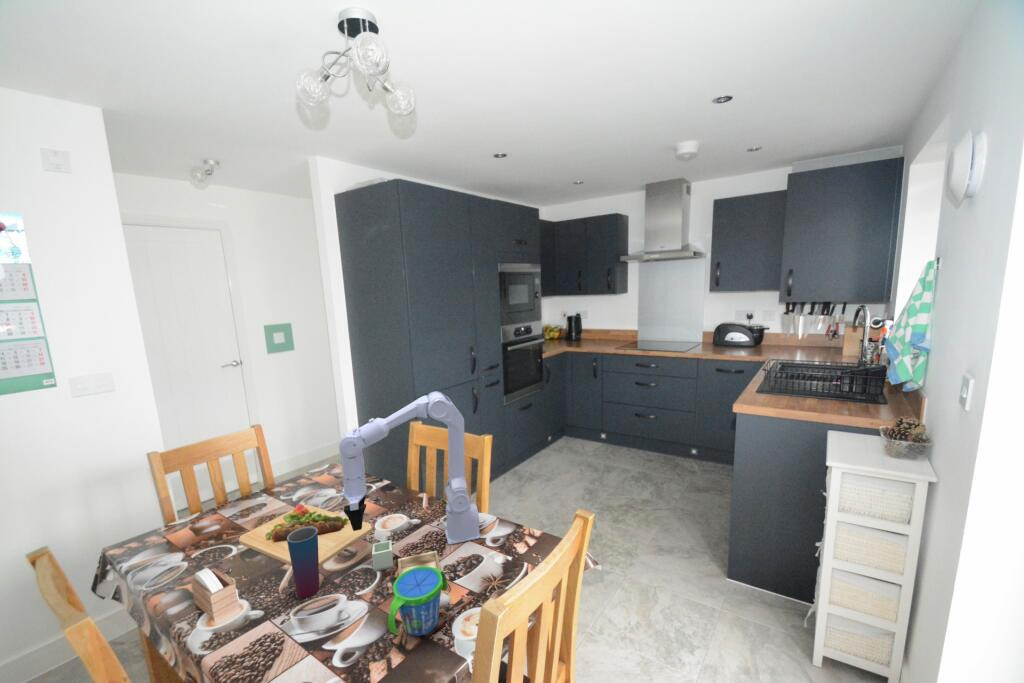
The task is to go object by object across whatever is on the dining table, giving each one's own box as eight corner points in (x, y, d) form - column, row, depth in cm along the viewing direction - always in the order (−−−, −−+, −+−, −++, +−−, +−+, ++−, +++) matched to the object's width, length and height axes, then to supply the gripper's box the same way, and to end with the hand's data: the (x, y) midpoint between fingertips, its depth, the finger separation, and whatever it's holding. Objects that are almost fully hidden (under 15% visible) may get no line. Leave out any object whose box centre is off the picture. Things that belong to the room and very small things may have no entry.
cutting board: (235, 544, 127) (232, 520, 126) (304, 508, 147) (302, 488, 146) (309, 575, 110) (307, 549, 109) (376, 530, 131) (374, 507, 130)
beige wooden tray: (437, 560, 113) (436, 550, 112) (442, 585, 103) (441, 574, 103) (398, 569, 110) (397, 559, 110) (400, 595, 100) (399, 584, 100)
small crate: (392, 556, 116) (391, 540, 115) (393, 567, 111) (391, 550, 110) (374, 560, 114) (372, 543, 114) (373, 572, 109) (372, 554, 109)
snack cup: (405, 662, 82) (401, 614, 81) (376, 635, 88) (372, 591, 87) (463, 613, 93) (461, 571, 92) (433, 593, 100) (431, 554, 99)
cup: (311, 601, 99) (305, 543, 98) (286, 598, 101) (280, 541, 99) (329, 582, 106) (323, 527, 104) (305, 580, 107) (300, 525, 106)
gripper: (341, 468, 120) (345, 512, 121) (335, 489, 106) (340, 539, 107) (366, 464, 122) (370, 508, 123) (364, 484, 108) (368, 534, 109)
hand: (358, 522), depth 115 cm, fingers open, 7 cm apart
